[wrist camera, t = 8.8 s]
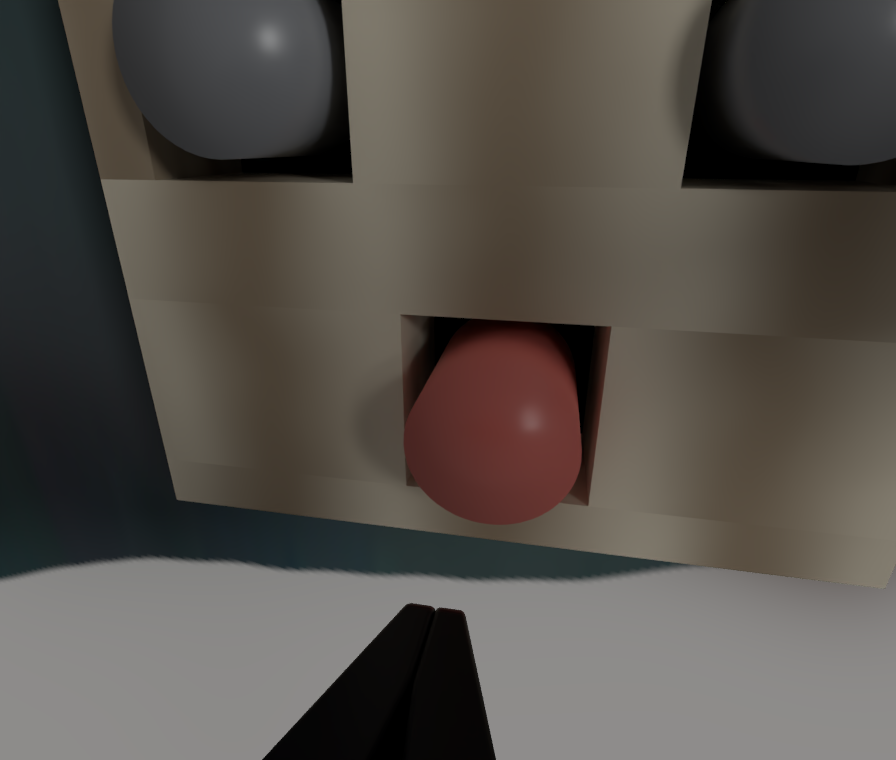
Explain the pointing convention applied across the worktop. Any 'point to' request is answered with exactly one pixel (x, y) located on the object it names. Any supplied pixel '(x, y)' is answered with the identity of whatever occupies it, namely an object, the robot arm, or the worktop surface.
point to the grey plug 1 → (237, 74)
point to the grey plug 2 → (801, 80)
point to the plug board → (519, 290)
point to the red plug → (497, 423)
